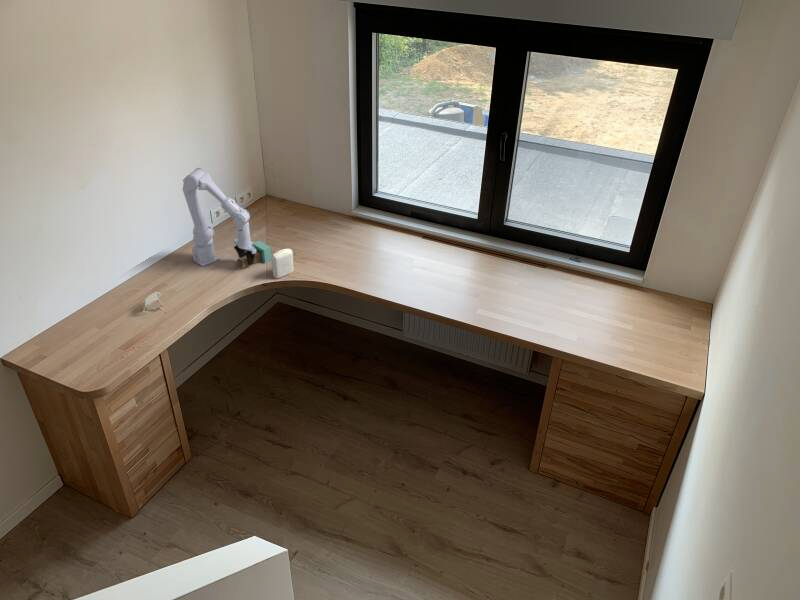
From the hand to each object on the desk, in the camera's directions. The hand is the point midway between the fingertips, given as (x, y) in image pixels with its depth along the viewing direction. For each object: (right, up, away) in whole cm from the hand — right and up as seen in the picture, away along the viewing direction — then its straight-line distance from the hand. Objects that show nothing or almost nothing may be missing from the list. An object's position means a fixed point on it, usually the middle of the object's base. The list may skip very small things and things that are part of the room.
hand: (246, 261), depth 288 cm
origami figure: (-31, -21, -29) cm, 47 cm away
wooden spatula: (+3, 0, +4) cm, 5 cm away
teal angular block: (+6, +2, +7) cm, 9 cm away
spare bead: (-1, +6, +13) cm, 14 cm away
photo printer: (+18, -6, -4) cm, 19 cm away
